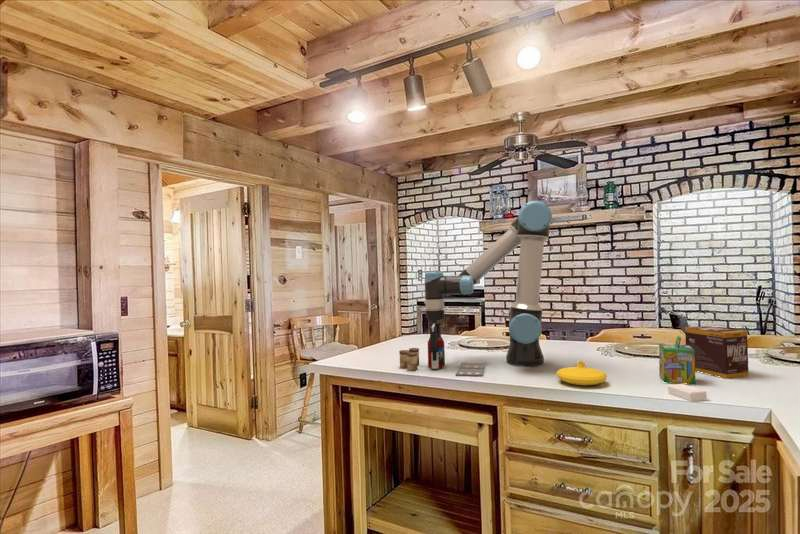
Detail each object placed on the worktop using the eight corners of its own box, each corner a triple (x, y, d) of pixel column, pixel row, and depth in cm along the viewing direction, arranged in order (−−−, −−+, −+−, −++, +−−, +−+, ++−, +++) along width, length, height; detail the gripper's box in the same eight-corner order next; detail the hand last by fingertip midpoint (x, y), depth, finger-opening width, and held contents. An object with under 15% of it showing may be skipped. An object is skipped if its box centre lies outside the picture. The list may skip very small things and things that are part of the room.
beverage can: (444, 369, 174) (443, 339, 174) (427, 369, 176) (426, 339, 176) (445, 365, 181) (444, 336, 181) (429, 365, 182) (428, 336, 182)
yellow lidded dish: (548, 384, 149) (547, 363, 149) (569, 375, 160) (568, 355, 160) (595, 392, 138) (595, 369, 138) (614, 382, 149) (613, 361, 149)
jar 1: (410, 366, 182) (410, 350, 182) (408, 368, 178) (408, 352, 178) (401, 366, 183) (400, 350, 183) (398, 368, 179) (398, 351, 179)
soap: (708, 401, 126) (707, 390, 126) (691, 402, 125) (691, 392, 125) (682, 392, 135) (682, 382, 135) (667, 394, 134) (666, 384, 134)
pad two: (485, 364, 182) (485, 362, 182) (484, 369, 172) (484, 367, 172) (460, 363, 184) (460, 361, 184) (458, 369, 174) (458, 367, 174)
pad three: (484, 370, 171) (484, 368, 171) (482, 376, 161) (482, 374, 161) (458, 369, 173) (458, 367, 173) (455, 375, 164) (455, 373, 164)
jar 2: (420, 364, 186) (419, 348, 186) (418, 366, 182) (417, 349, 182) (410, 363, 187) (410, 347, 187) (408, 366, 183) (408, 349, 183)
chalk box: (659, 376, 154) (657, 334, 154) (690, 378, 150) (688, 334, 150) (663, 383, 145) (662, 338, 145) (696, 385, 142) (694, 339, 142)
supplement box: (726, 379, 148) (725, 332, 148) (685, 369, 162) (684, 327, 162) (750, 376, 150) (748, 330, 150) (707, 367, 165) (706, 325, 165)
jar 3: (418, 369, 177) (418, 352, 177) (416, 371, 173) (416, 354, 173) (408, 368, 178) (407, 351, 178) (406, 371, 174) (405, 353, 174)
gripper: (429, 307, 189) (431, 361, 189) (421, 312, 170) (423, 371, 170) (447, 307, 187) (448, 361, 187) (440, 311, 168) (442, 372, 168)
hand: (436, 366), depth 178 cm, fingers closed on beverage can, 7 cm apart
